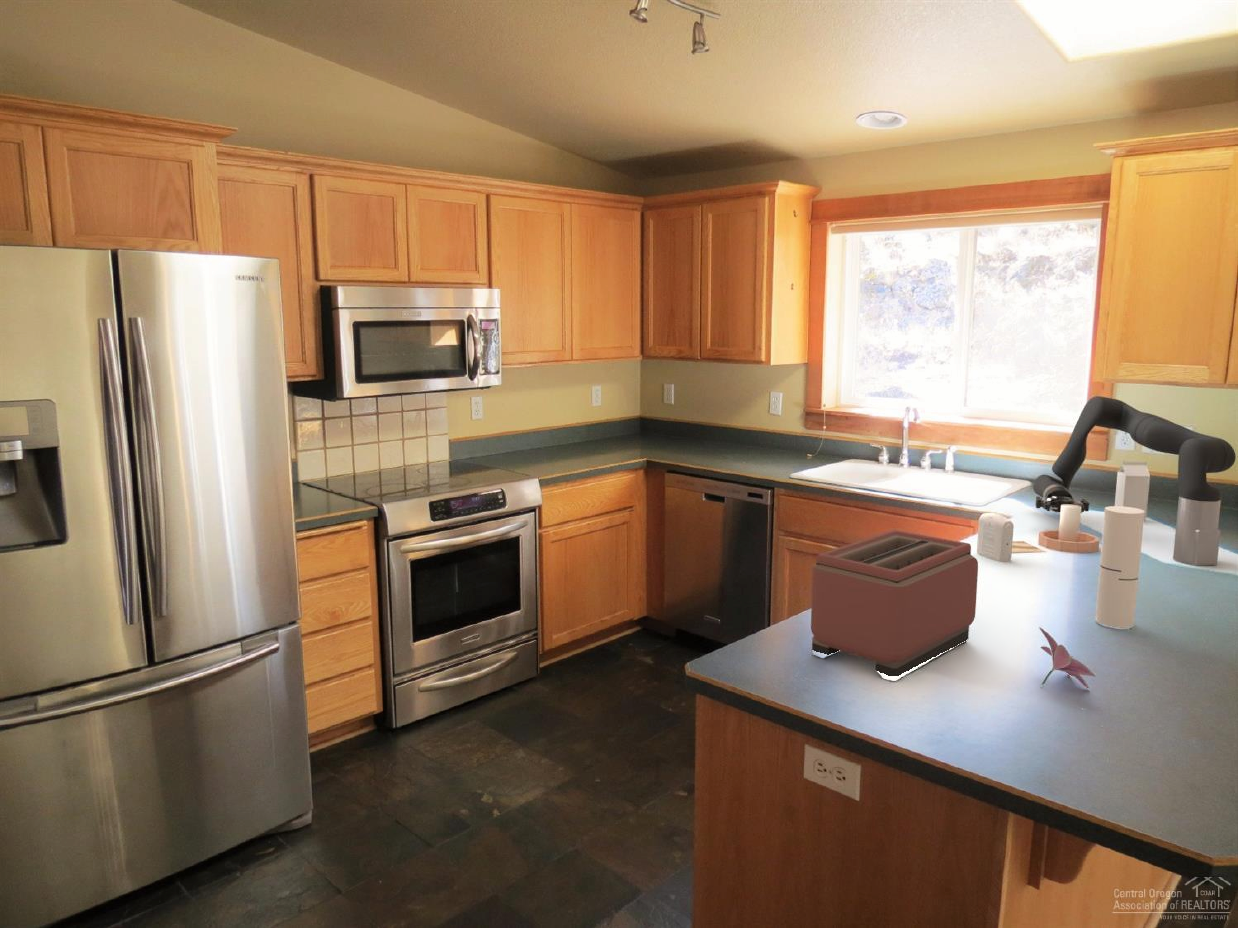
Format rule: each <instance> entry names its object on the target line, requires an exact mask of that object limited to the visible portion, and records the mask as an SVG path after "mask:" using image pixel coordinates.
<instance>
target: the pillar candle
mask: <svg viewBox="0 0 1238 928" xmlns="http://www.w3.org/2000/svg"><path fill="white" fill-rule="evenodd" d="M1081 518H1082V513H1081V506H1078V505H1071V504H1063V505H1061V510H1060V512H1059V522H1058V523H1059V526H1058V530H1059V534H1058V540H1061V541H1070V542H1078V541H1079V532H1080V526H1081Z"/></svg>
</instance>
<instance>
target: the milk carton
mask: <svg viewBox="0 0 1238 928" xmlns="http://www.w3.org/2000/svg"><path fill="white" fill-rule="evenodd" d="M1150 480H1151V475H1150V471H1149V468H1148V461H1122V463H1121V466H1120V467H1119V469H1118V470H1117V474H1116V489H1115V497H1114V499H1115V500H1114V506H1123V507H1132V508H1137V509H1141V510H1143V511H1145V512H1144V522H1146V521H1147V513H1148V501H1149V492H1150V490H1149V489H1150Z"/></svg>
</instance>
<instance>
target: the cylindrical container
mask: <svg viewBox="0 0 1238 928" xmlns="http://www.w3.org/2000/svg"><path fill="white" fill-rule="evenodd" d="M1144 512H1145V511H1143V510H1141V509H1137V508H1132V507H1123V506H1115V505H1113V506H1112V505H1111V506H1106V507H1104V513H1103V514H1104V515H1103V525H1102V538H1101V551H1100V559H1099V561H1100V563H1099V574H1098V585H1097V596H1096V605H1095V606H1096V607H1095V608H1096V609H1095V618H1094V619H1096V621H1097V622H1098V623H1101V624H1105V625H1107V626H1112V627H1120V628H1127V627H1132V626H1133V625H1134V626H1135V616H1136V604H1137V596H1138V595H1137V594H1138V584H1139V574H1140V563H1141V552H1142V541H1143V531H1144V522H1145V521H1144Z"/></svg>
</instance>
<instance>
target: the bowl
mask: <svg viewBox="0 0 1238 928" xmlns="http://www.w3.org/2000/svg"><path fill="white" fill-rule="evenodd" d="M1058 534H1059V529H1046V530H1042V531H1039V532H1038V541H1037V543H1038V545H1039V546H1040V547H1043V548H1045V549H1049V550H1053V551H1058V552H1063V553H1064V552H1065V553H1074V554H1075V553H1076V554H1078V553H1079V554H1083V553H1094V552H1096V551H1097V552H1099V551H1098V550H1099V548H1100V538H1099V537H1098V536H1096V535H1094V534H1092V533H1087V532H1083V531H1082V532H1081V531H1079V541H1078V542H1070V541H1061V540H1058Z"/></svg>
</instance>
